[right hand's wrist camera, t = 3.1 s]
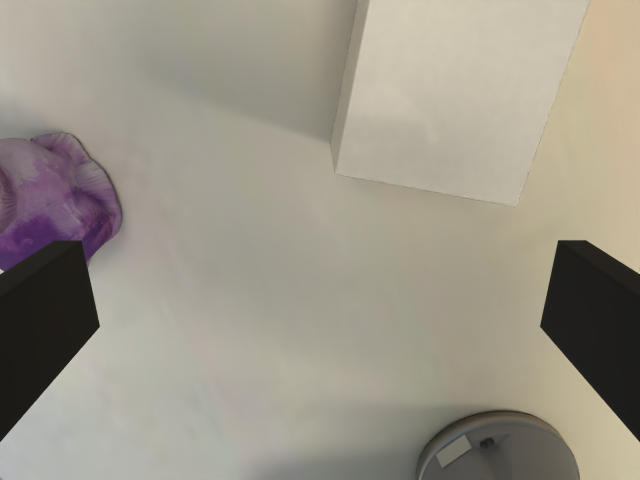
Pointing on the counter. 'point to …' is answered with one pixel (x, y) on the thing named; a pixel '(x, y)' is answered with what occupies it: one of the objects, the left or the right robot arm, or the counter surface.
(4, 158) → the figurine
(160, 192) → the counter surface
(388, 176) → the cabinet
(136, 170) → the counter surface
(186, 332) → the counter surface
